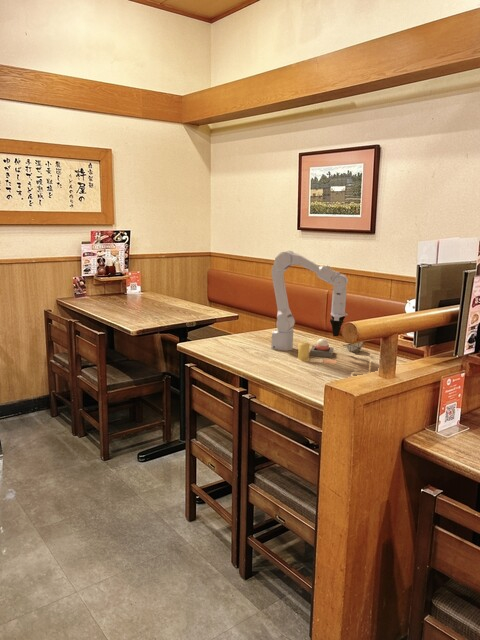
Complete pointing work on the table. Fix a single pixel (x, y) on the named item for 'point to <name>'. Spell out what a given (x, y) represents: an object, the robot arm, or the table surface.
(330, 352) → the grey square tray
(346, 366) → the table surface
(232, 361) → the table surface
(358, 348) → the grey rock
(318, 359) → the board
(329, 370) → the table surface
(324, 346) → the dome
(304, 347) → the yellow upright block
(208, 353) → the table surface
